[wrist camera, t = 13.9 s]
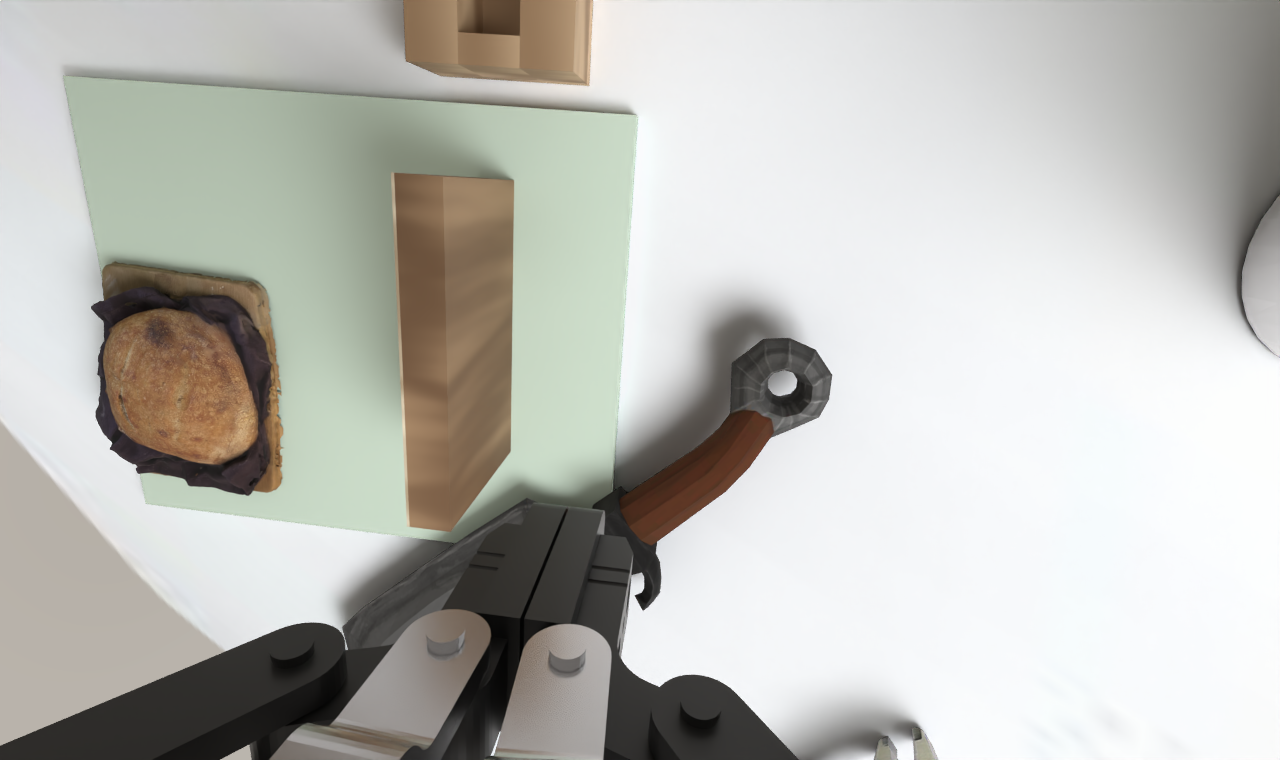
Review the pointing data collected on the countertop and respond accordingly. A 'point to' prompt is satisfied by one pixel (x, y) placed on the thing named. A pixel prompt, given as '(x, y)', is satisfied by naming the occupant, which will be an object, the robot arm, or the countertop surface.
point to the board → (453, 338)
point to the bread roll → (190, 377)
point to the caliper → (922, 746)
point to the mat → (373, 273)
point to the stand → (501, 39)
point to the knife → (635, 490)
